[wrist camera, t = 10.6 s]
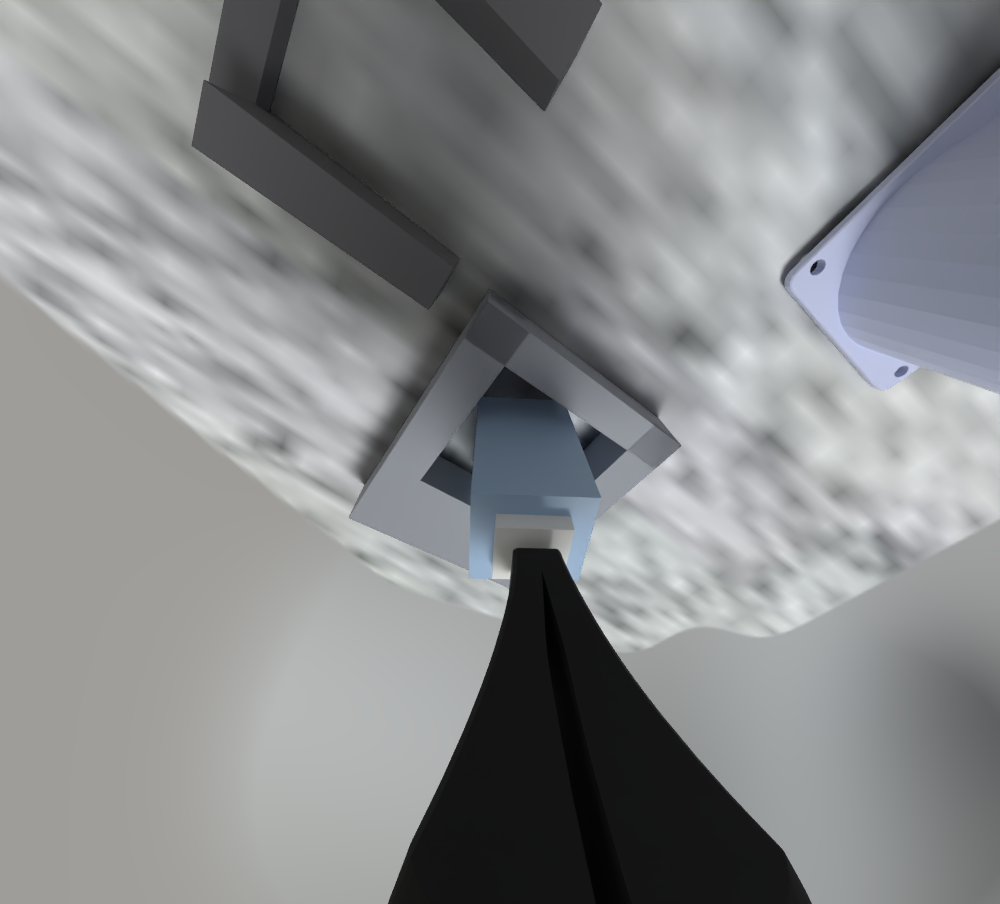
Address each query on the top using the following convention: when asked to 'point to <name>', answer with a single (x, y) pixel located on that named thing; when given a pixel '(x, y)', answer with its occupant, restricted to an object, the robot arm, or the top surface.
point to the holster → (321, 181)
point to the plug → (528, 486)
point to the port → (452, 396)
